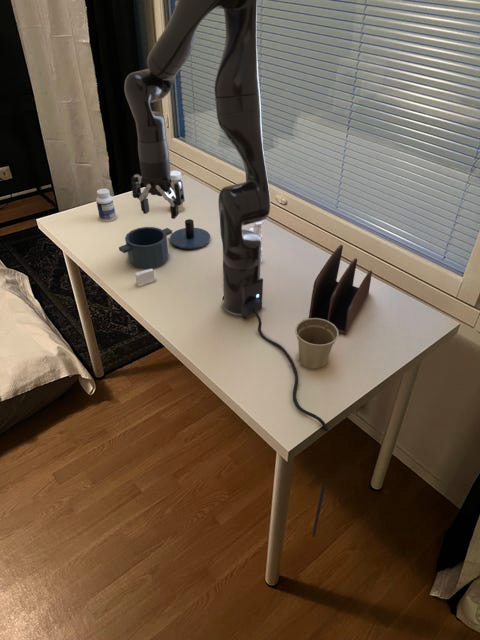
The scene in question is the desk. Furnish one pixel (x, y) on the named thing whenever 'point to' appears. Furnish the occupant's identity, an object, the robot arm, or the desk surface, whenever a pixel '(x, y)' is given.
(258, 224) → the koala figurine
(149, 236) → the pot
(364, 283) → the letter holder
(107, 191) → the pill bottle
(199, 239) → the lid
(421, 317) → the desk surface
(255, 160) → the robot arm
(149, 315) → the desk surface
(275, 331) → the desk surface
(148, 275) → the eraser
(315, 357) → the flower pot
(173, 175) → the sprinkles bottle
